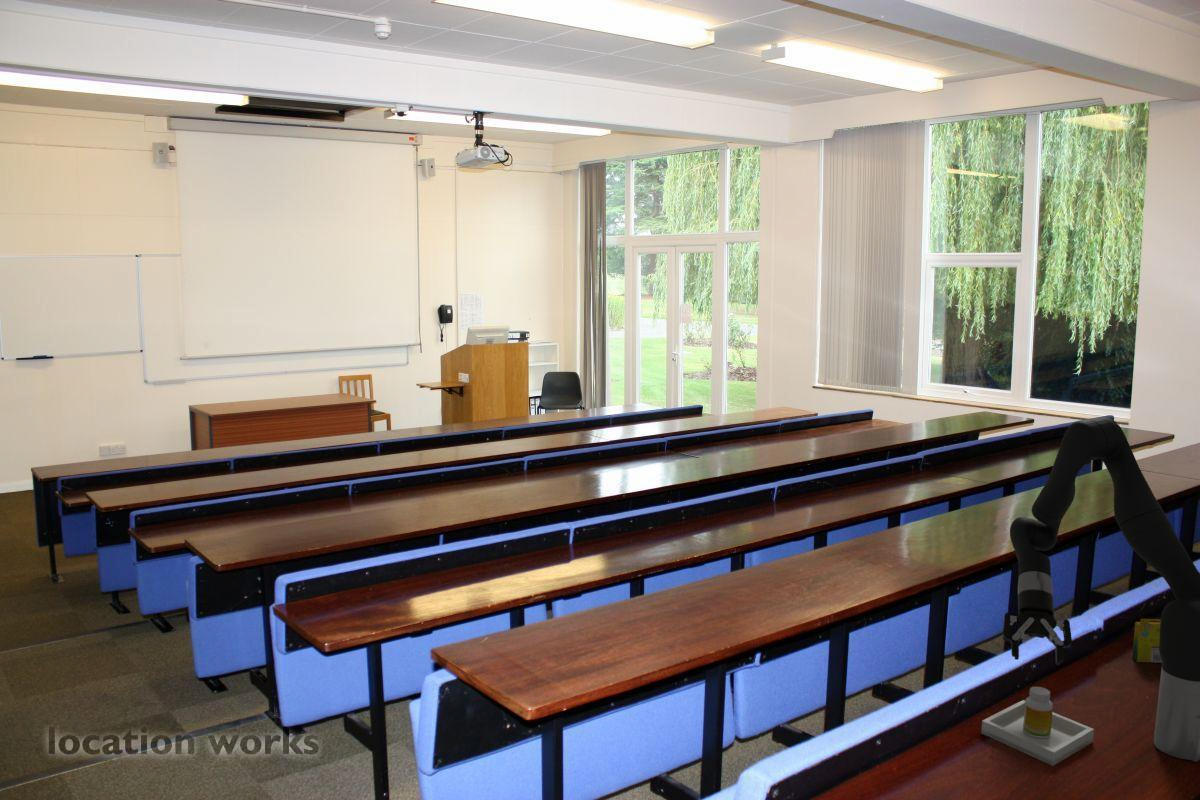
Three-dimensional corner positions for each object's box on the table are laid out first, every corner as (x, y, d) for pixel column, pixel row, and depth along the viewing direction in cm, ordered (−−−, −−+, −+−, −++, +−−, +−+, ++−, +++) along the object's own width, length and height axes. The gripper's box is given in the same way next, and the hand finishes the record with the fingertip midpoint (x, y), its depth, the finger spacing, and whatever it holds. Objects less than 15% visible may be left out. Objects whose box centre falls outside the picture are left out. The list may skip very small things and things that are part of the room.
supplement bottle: (1053, 740, 201) (1057, 697, 199) (1026, 737, 202) (1029, 695, 200) (1046, 728, 206) (1050, 686, 204) (1020, 725, 207) (1023, 683, 206)
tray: (1092, 742, 202) (1094, 729, 202) (1052, 766, 193) (1054, 752, 192) (1022, 712, 215) (1023, 700, 214) (981, 733, 206) (982, 720, 205)
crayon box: (1161, 658, 243) (1166, 615, 241) (1167, 663, 240) (1171, 620, 238) (1131, 657, 244) (1135, 614, 242) (1136, 662, 241) (1140, 618, 239)
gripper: (1004, 585, 223) (1004, 650, 214) (1071, 591, 218) (1074, 658, 209) (1001, 598, 228) (1001, 663, 219) (1066, 605, 224) (1069, 671, 215)
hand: (1037, 661), depth 214 cm, fingers open, 8 cm apart
